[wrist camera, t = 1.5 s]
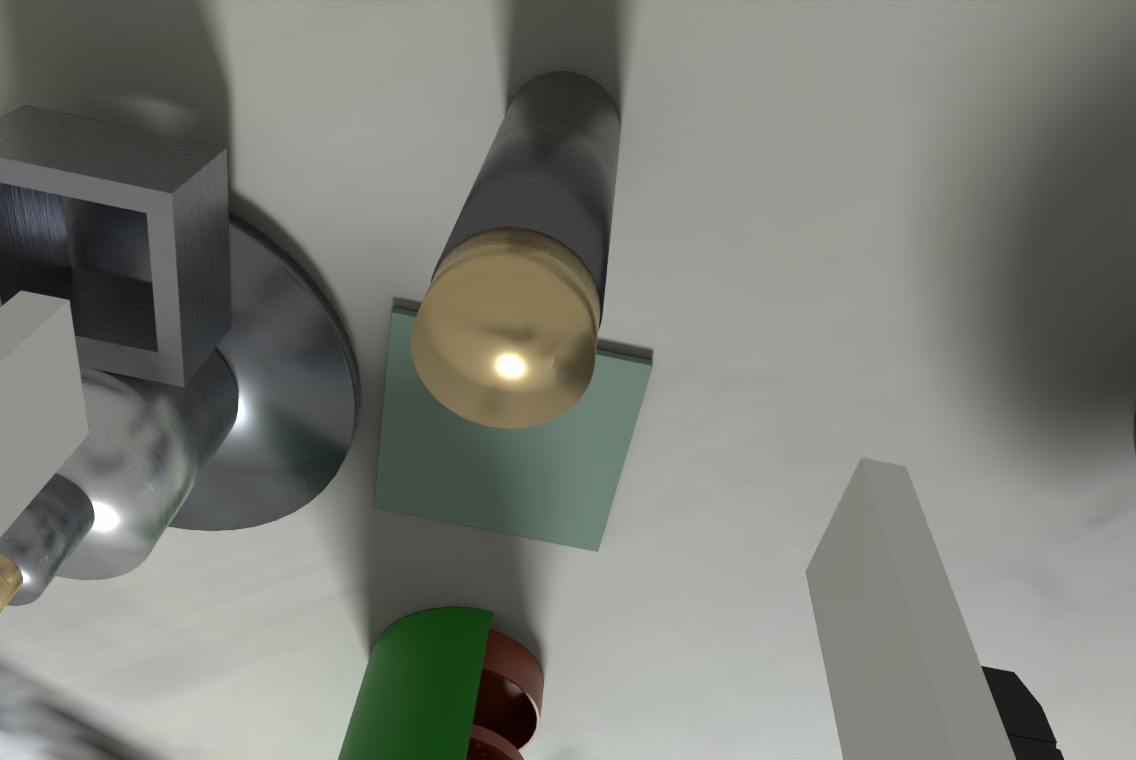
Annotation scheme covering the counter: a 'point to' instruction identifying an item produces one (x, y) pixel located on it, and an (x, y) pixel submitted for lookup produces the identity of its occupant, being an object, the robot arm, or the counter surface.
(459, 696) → the cutaway screw mechanism model
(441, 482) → the mat
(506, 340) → the gold capped bottle
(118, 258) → the base
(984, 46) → the counter surface
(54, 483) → the grey cylinder with box
